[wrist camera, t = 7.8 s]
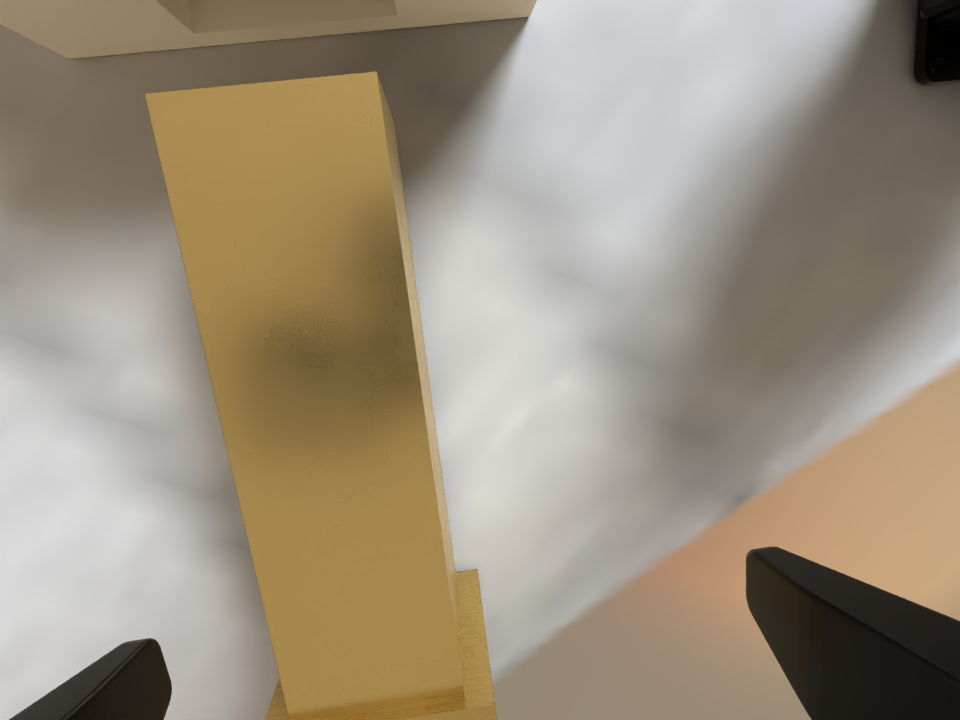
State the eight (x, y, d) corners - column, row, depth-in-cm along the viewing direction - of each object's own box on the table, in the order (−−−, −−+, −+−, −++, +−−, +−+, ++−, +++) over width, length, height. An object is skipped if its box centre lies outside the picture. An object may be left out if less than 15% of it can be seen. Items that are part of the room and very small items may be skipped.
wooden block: (421, 125, 17) (413, 61, 11) (480, 596, 21) (499, 740, 15) (216, 146, 17) (92, 92, 11) (315, 621, 21) (265, 778, 15)
